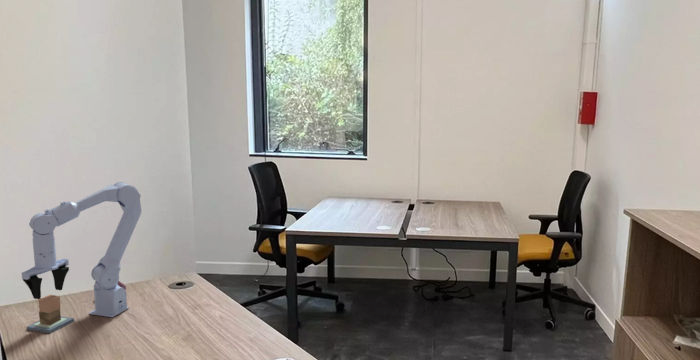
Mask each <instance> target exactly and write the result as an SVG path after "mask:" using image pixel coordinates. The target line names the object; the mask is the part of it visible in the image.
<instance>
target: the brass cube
mask: <svg viewBox="0 0 700 360" xmlns="http://www.w3.org/2000/svg"><path fill="white" fill-rule="evenodd" d="M38 316H39V317H38V318H39V320H40V324H46V325H52V324H54V323H56V322H58V321H60V320H61V316H62V315H61V308H60V309H58V310H55V311H53V312H51V313H45V312H40V311H38Z"/></svg>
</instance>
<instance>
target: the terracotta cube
mask: <svg viewBox="0 0 700 360" xmlns="http://www.w3.org/2000/svg"><path fill="white" fill-rule="evenodd" d="M60 299H61V297H60V295H54V294H48V295H46V296H42V297H41V298H40V299H37V300H38V308H39V309H38V310H39V311H40V312H45V313H51V312H53V311H55V310H58V309H60V310H61V300H60ZM39 311H38V312H39Z"/></svg>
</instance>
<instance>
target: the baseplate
mask: <svg viewBox="0 0 700 360" xmlns="http://www.w3.org/2000/svg"><path fill="white" fill-rule="evenodd" d="M73 322H75V318H74V317H68V316H62V315H61V320H60V321H58V322H56V323H54V324H52V325H46V324H40V319H39V320H37V321H35V322H33V323H31V324H29V325H27V326H26V330H28V331H32V330H34V331H33V332H38V331H40V333H43V334H44V333H45V334H52V333H53V332H56V331H57V330H59V329H62V328H64V327H65V326H68V325H70V324H72V323H73Z"/></svg>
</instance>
